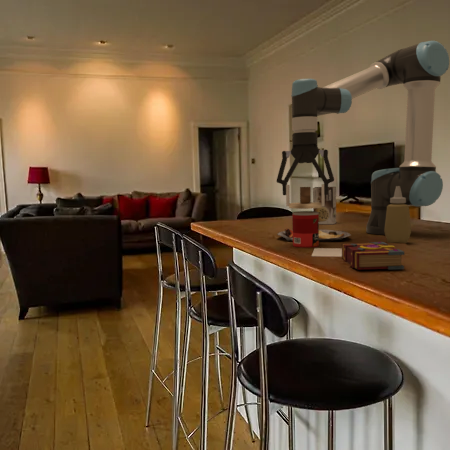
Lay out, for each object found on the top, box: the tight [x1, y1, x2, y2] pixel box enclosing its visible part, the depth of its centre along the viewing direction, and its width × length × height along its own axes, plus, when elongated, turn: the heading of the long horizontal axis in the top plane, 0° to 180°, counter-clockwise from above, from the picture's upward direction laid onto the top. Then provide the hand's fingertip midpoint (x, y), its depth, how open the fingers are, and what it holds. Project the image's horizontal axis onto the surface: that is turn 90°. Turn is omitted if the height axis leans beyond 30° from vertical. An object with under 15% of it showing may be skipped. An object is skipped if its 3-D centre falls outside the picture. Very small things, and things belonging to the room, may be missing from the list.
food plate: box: [276, 228, 352, 243], centre depth 176 cm, size 25×23×4 cm
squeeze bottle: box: [384, 186, 412, 244], centre depth 160 cm, size 8×8×18 cm
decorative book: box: [341, 241, 405, 271], centre depth 126 cm, size 11×16×5 cm
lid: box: [288, 186, 322, 210], centre depth 155 cm, size 10×10×6 cm
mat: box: [311, 247, 342, 258], centre depth 143 cm, size 14×14×1 cm
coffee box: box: [312, 186, 337, 225], centre depth 222 cm, size 9×6×16 cm
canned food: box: [291, 210, 320, 249], centre depth 156 cm, size 8×8×11 cm
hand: (305, 205), depth 156 cm, fingers closed on lid, 10 cm apart
